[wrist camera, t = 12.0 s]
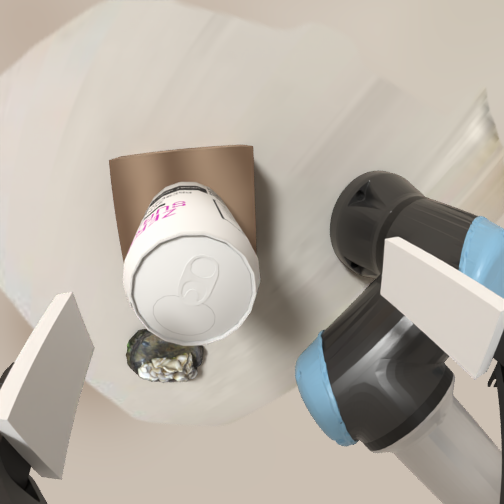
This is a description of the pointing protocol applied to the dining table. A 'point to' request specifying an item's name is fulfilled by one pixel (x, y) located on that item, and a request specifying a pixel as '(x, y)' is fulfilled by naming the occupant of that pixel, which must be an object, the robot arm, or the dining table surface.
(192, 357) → the oyster shell
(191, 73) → the dining table surface
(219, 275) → the supplement can
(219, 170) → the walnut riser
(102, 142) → the dining table surface
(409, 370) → the robot arm
